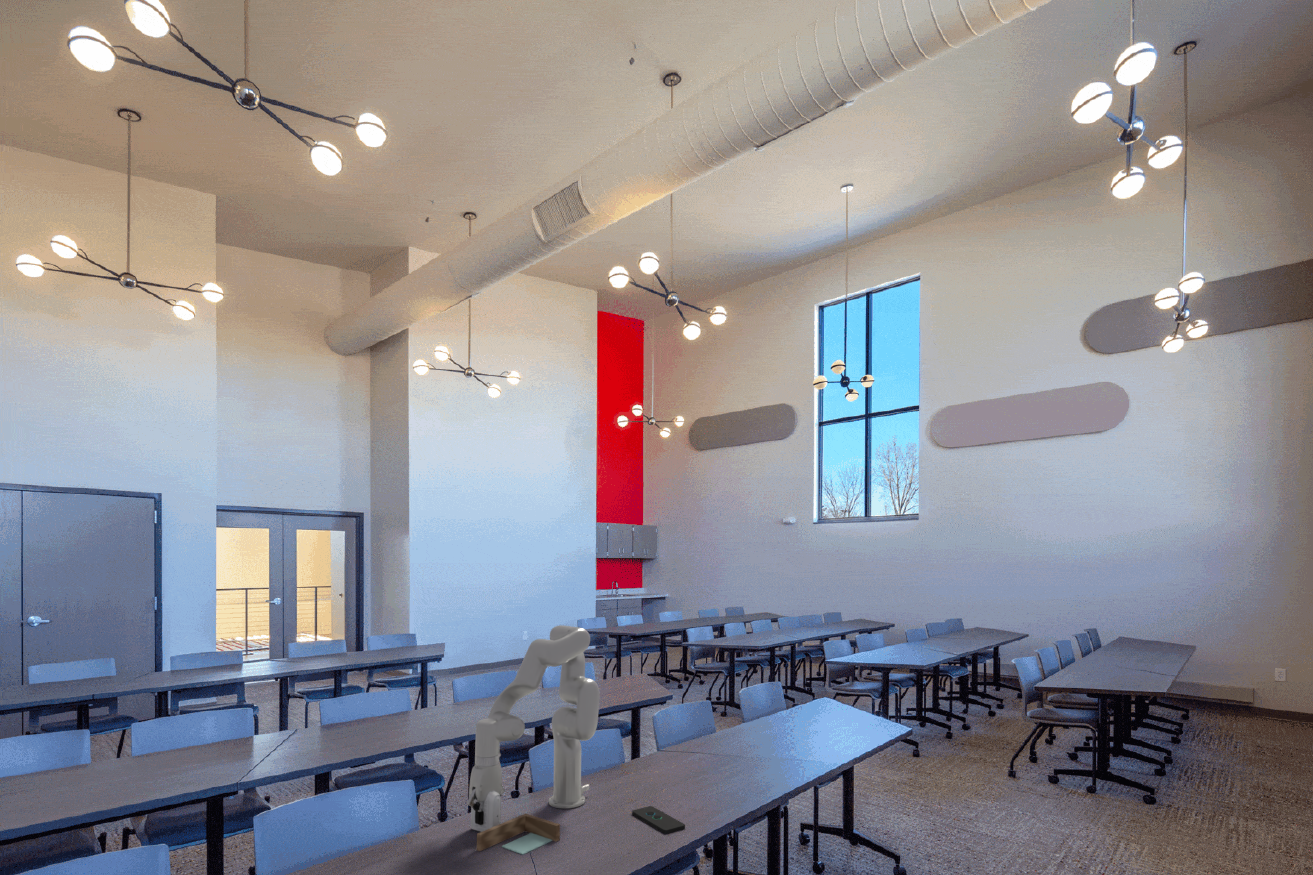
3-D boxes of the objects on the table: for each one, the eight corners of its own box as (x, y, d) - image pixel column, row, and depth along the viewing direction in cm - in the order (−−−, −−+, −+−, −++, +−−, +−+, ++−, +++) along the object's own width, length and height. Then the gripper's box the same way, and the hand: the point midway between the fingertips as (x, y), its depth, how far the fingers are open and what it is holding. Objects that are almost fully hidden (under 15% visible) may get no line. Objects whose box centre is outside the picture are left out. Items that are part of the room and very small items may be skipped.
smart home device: (651, 804, 242) (686, 824, 226) (651, 810, 242) (686, 829, 225) (630, 810, 237) (664, 829, 221) (630, 815, 237) (664, 835, 221)
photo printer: (502, 831, 224) (503, 789, 225) (493, 836, 220) (493, 793, 222) (478, 824, 229) (478, 784, 230) (468, 829, 225) (469, 788, 227)
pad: (531, 833, 222) (531, 832, 222) (552, 840, 217) (552, 839, 217) (501, 846, 212) (501, 845, 212) (522, 854, 207) (522, 853, 207)
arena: (525, 828, 226) (525, 813, 226) (559, 839, 217) (559, 824, 218) (476, 849, 210) (477, 833, 211) (511, 863, 201) (511, 846, 202)
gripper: (499, 751, 236) (498, 810, 234) (457, 765, 223) (456, 827, 220) (515, 755, 232) (514, 815, 229) (473, 769, 218) (472, 833, 216)
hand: (485, 820), depth 225 cm, fingers closed on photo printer, 4 cm apart
